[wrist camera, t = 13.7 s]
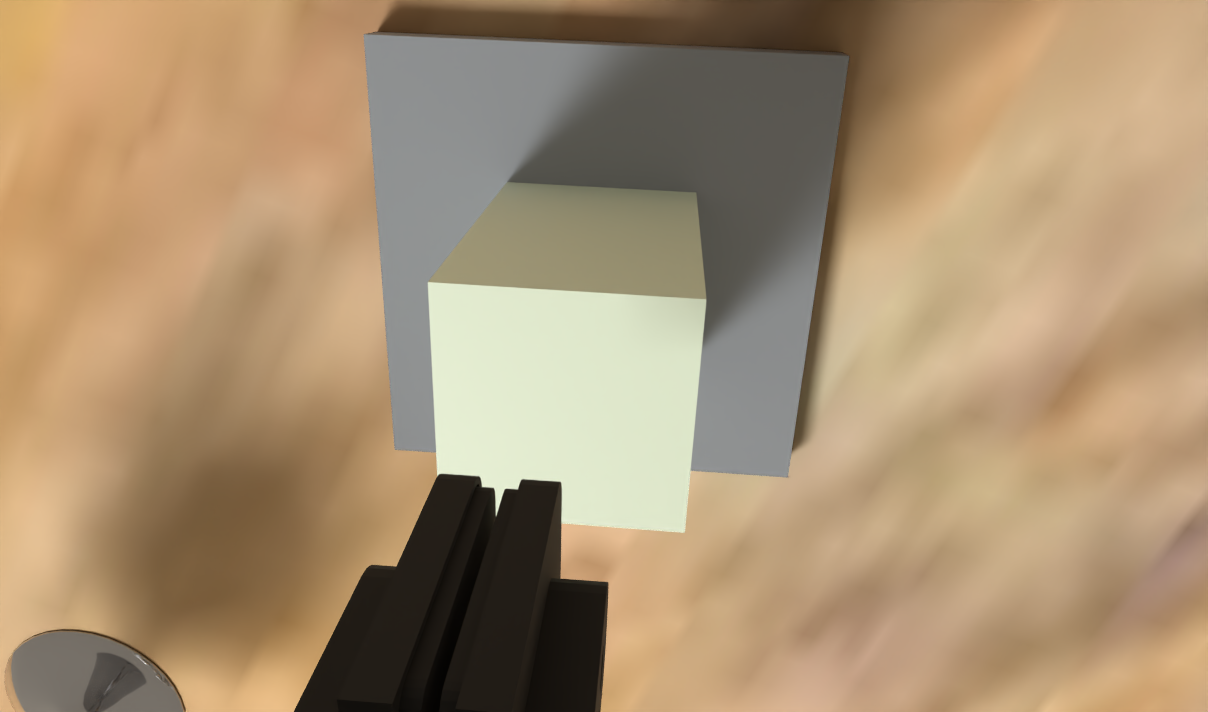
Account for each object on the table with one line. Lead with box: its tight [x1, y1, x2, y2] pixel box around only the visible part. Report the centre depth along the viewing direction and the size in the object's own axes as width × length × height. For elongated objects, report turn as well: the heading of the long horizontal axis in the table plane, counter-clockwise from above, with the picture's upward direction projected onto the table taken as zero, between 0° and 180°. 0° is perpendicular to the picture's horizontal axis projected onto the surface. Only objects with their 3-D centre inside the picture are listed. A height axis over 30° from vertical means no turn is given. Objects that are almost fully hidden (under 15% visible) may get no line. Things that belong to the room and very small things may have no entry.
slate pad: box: [364, 32, 849, 477], centre depth 24 cm, size 12×12×1 cm
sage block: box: [428, 182, 706, 533], centre depth 20 cm, size 5×5×8 cm
